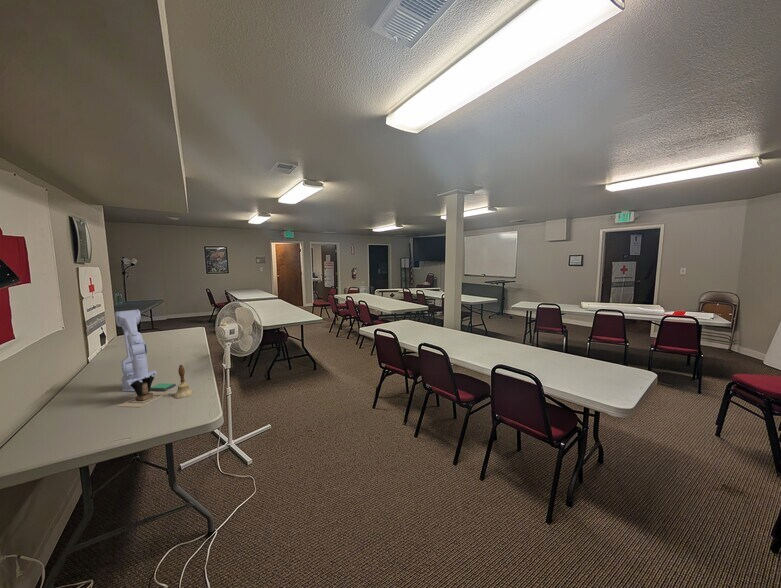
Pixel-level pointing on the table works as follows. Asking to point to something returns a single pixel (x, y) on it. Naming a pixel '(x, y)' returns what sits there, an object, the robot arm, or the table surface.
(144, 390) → the stamp
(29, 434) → the table surface
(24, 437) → the table surface
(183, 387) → the hand bell
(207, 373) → the table surface
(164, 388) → the ink pad
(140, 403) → the plate
